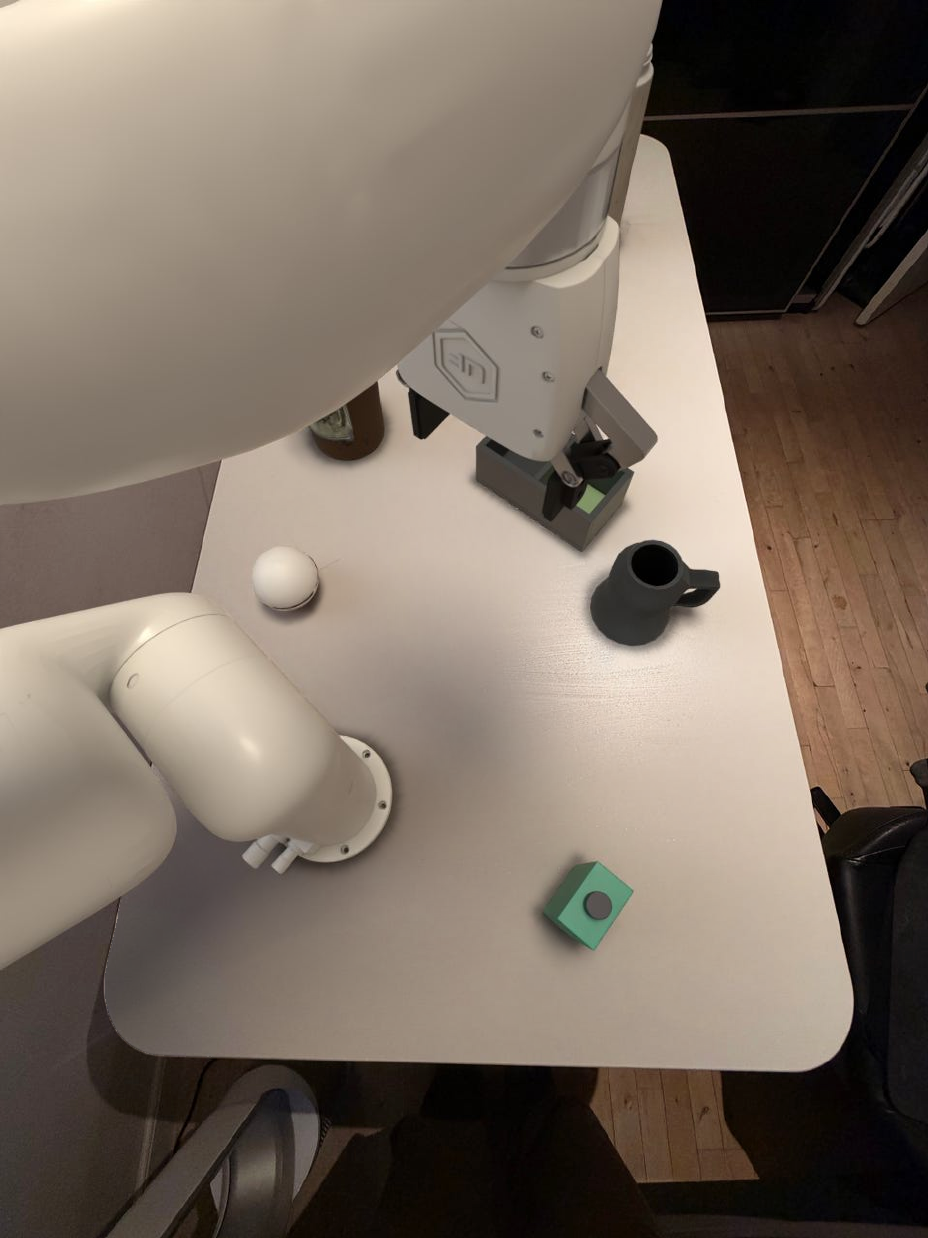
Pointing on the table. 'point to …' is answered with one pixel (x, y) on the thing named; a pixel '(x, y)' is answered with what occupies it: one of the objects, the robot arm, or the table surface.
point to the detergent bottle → (588, 903)
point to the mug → (647, 592)
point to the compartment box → (527, 489)
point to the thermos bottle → (631, 139)
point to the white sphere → (285, 578)
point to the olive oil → (351, 427)
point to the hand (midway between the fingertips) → (495, 462)
